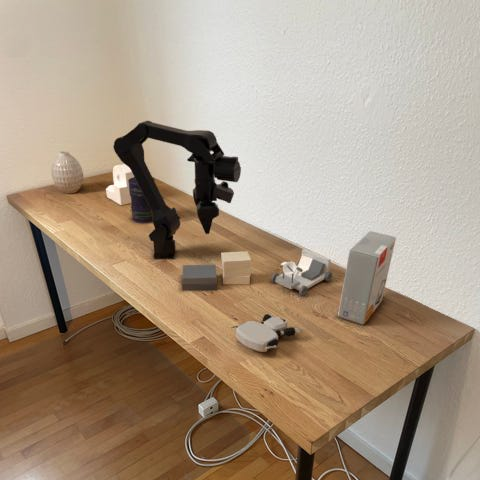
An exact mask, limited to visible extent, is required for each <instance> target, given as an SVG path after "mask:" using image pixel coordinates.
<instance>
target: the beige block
mask: <svg viewBox="0 0 480 480" xmlns="http://www.w3.org/2000/svg"><path fill="white" fill-rule="evenodd" d="M221 268H222V285H250V282H251V276H252V267H251V268H241V269H224V268H223V264H222V267H221Z"/></svg>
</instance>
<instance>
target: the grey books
mask: <svg viewBox="0 0 480 480" xmlns="http://www.w3.org/2000/svg"><path fill="white" fill-rule="evenodd" d="M217 278H218V276H217V267H216V264H183V265H182V278H181V291H217V283H218V279H217Z"/></svg>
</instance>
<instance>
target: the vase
mask: <svg viewBox="0 0 480 480" xmlns="http://www.w3.org/2000/svg"><path fill="white" fill-rule="evenodd" d="M50 173H51V178H52V180H53V183H54V185H55V186H56V187H57V188H58V189H59V190H60V191H61V192H62V193H64V194H75V193H78V192H79V190H80V189H81V187H82V185H83V183H84V171H83V168H82V165H81V163H80V162H79V160H78V159H76V157H75V156H74V155H72V154H70V152H69V151H68V150H61V151H59V152H58V154H57V155H56V157H55V158H53V161H52V165H51V171H50Z"/></svg>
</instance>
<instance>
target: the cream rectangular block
mask: <svg viewBox="0 0 480 480" xmlns="http://www.w3.org/2000/svg"><path fill="white" fill-rule="evenodd" d="M220 254H221V256H220V258H221V263H222V264H223V268H224V269H241V268H251V269H252V259H251V256H250V254H249V251H248V250H247V251H246V250H245V251H230V252H229V251H228V252H221V253H220ZM223 268H222V269H223Z"/></svg>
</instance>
